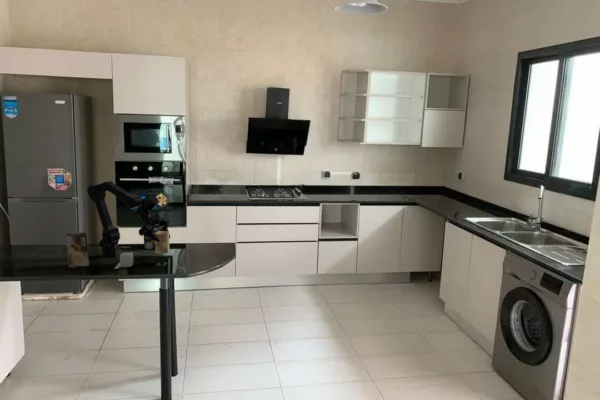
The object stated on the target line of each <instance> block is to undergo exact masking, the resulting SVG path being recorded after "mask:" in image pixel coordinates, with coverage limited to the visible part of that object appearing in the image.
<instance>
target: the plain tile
mask: <svg viewBox="0 0 600 400" xmlns="http://www.w3.org/2000/svg"><path fill="white" fill-rule="evenodd" d="M120 267H121V266H120V262H118V263H117V265H115V267H114V270H115V269H116V270H117V269H119V268H120Z"/></svg>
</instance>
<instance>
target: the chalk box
mask: <svg viewBox="0 0 600 400" xmlns="http://www.w3.org/2000/svg"><path fill="white" fill-rule="evenodd" d="M157 231H160V230H159V229H158V228H155V229H154V232H155V233H156V232H157ZM143 246H144V247H143V249H144V250H155V241H154V240H152V239H150V238H148V237H144V236H143Z"/></svg>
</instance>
